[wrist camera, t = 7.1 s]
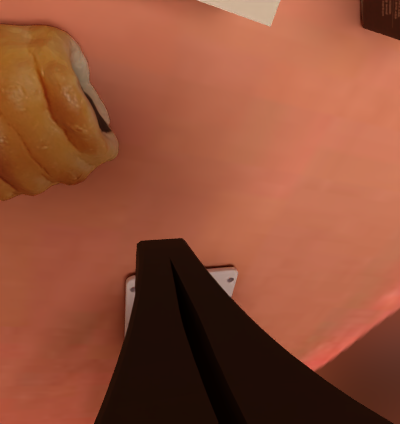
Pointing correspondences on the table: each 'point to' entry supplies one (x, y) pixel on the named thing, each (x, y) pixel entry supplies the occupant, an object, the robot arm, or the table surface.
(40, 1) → the table surface
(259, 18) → the marked block grey
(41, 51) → the pastry
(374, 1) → the box
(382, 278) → the table surface
